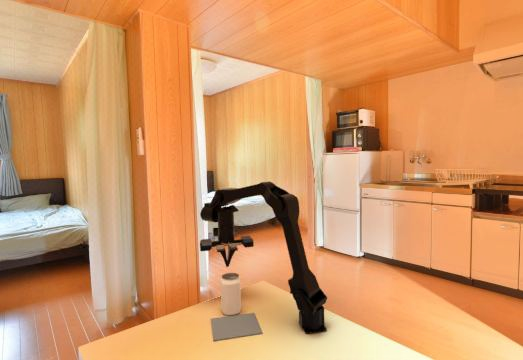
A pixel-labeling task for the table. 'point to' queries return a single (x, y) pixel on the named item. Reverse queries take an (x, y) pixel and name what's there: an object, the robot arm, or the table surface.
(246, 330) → the mat
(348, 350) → the table surface
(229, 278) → the can
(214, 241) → the robot arm
